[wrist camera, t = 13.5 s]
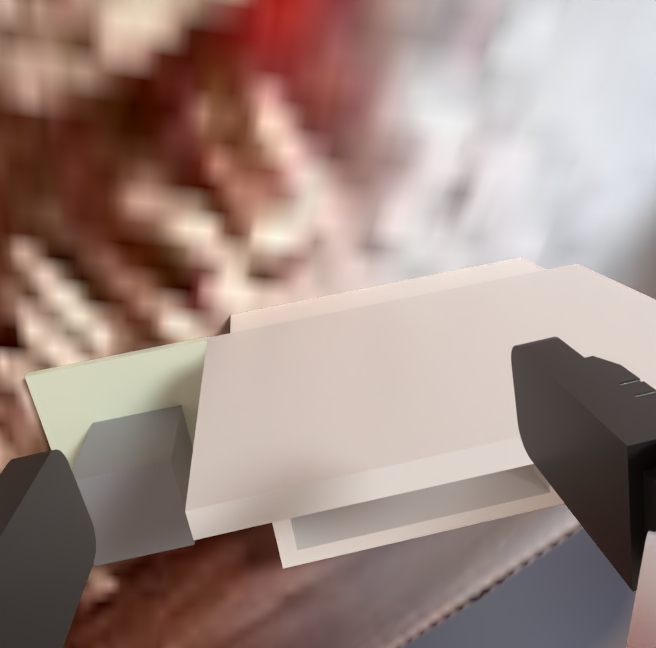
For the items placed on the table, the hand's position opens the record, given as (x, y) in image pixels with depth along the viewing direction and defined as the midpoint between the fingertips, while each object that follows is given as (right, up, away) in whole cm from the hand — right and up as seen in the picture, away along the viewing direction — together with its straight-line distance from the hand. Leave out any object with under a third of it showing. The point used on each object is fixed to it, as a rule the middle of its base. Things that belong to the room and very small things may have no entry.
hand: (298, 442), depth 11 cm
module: (-10, -5, +25) cm, 28 cm away
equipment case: (+5, -2, +27) cm, 27 cm away
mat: (-10, -5, +26) cm, 28 cm away
